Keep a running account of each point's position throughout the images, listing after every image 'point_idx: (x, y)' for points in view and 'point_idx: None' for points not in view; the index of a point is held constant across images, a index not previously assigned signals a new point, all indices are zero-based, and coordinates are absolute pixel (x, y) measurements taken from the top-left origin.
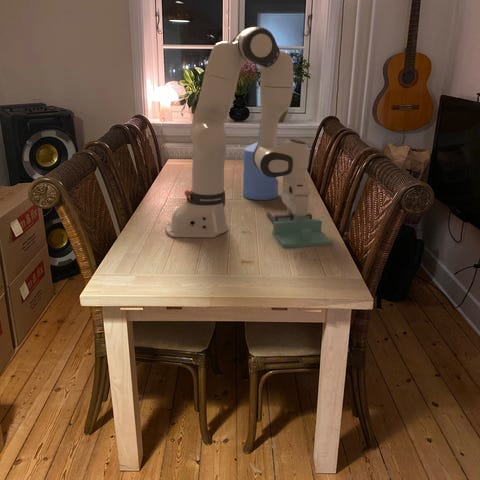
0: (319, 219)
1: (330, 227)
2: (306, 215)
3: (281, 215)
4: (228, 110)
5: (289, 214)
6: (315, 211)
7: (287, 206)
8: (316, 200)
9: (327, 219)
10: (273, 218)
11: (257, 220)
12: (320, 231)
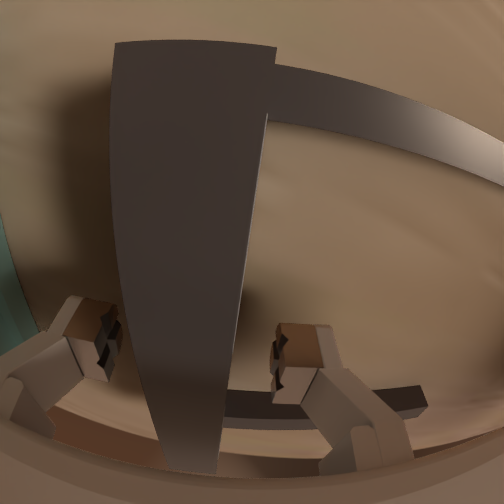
0: None
1: (130, 429)
2: (163, 449)
3: (179, 225)
4: None
5: (212, 371)
6: None
7: (284, 494)
8: (467, 436)
9: (258, 455)
10: (408, 130)
11: (482, 4)
12: None
